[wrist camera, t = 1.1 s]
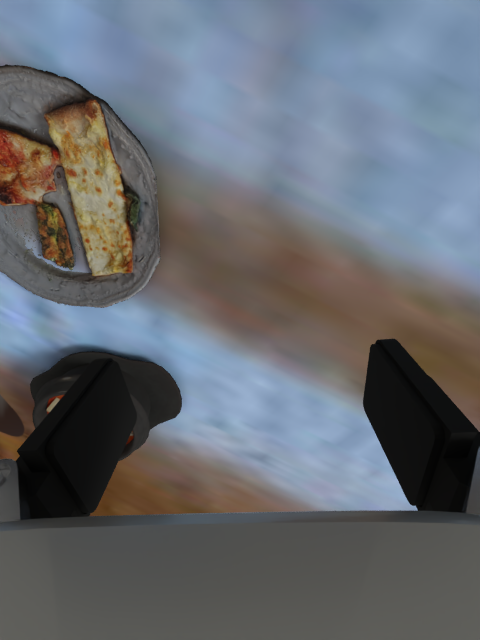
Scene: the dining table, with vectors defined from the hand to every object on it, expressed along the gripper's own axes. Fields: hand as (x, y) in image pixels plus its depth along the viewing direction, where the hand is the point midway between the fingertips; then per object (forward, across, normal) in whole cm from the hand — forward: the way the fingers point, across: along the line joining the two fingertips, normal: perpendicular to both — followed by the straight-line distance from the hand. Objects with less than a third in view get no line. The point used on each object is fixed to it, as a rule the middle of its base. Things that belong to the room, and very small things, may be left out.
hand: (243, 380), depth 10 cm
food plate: (+28, +22, -6) cm, 36 cm away
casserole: (+28, +25, +23) cm, 44 cm away
